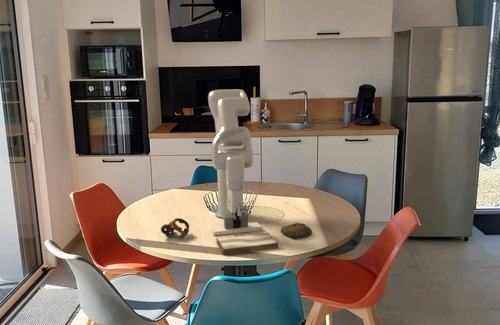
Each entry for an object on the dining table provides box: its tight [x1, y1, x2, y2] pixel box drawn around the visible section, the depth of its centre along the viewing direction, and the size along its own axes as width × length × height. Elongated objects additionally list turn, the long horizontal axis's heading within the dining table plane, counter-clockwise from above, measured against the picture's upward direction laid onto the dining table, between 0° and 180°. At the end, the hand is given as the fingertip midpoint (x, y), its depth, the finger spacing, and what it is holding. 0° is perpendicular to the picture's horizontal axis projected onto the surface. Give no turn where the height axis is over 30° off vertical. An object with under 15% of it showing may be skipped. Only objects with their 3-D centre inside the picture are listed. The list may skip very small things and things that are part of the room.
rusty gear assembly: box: [160, 217, 190, 240], centre depth 198 cm, size 12×10×8 cm
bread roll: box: [280, 222, 313, 240], centre depth 200 cm, size 13×12×5 cm
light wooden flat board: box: [215, 232, 279, 256], centre depth 188 cm, size 12×22×2 cm, turn 106°
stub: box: [210, 213, 262, 237], centre depth 203 cm, size 6×21×7 cm, turn 106°
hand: (235, 225), depth 204 cm, fingers closed on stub, 3 cm apart
